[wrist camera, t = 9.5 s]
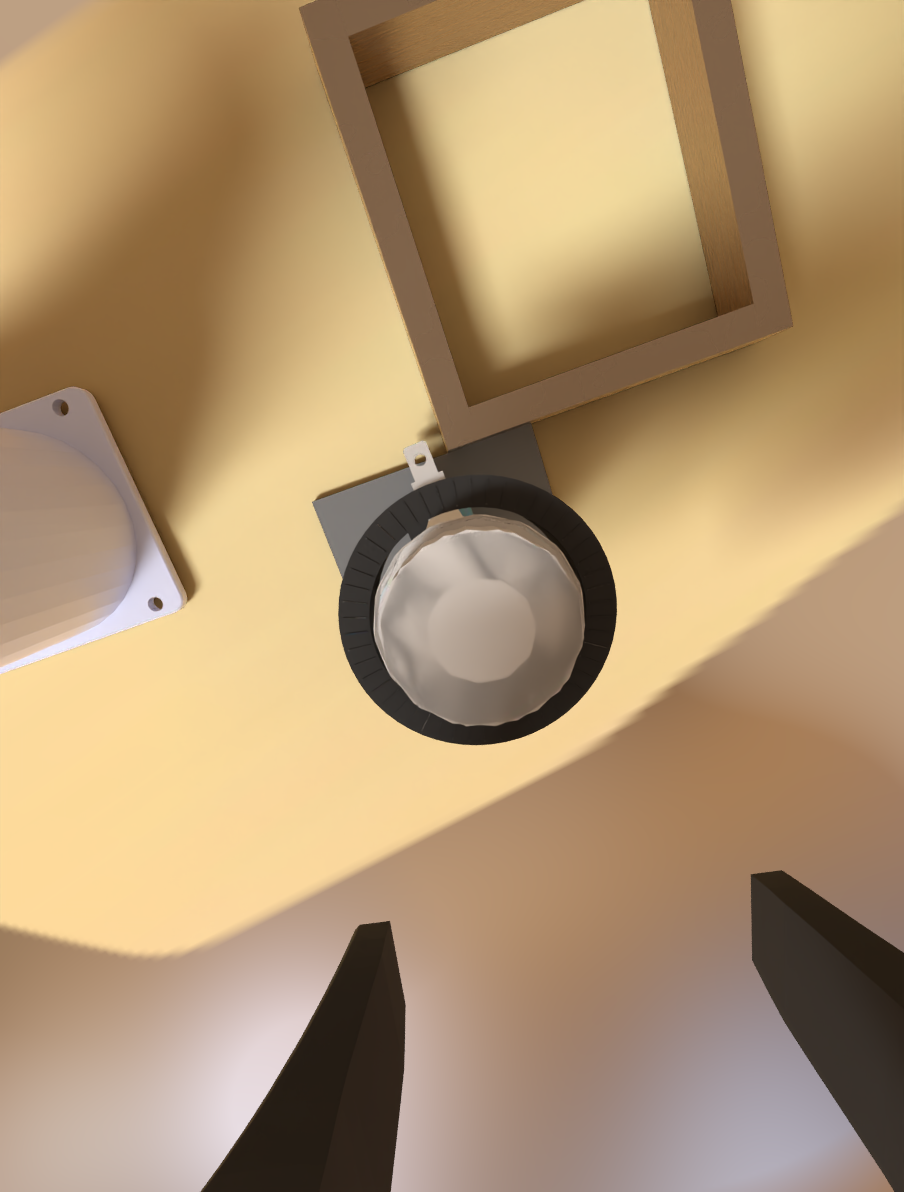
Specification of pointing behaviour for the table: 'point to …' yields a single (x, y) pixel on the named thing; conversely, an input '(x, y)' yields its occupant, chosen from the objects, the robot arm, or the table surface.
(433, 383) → the frame
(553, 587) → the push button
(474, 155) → the table surface
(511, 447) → the mat
